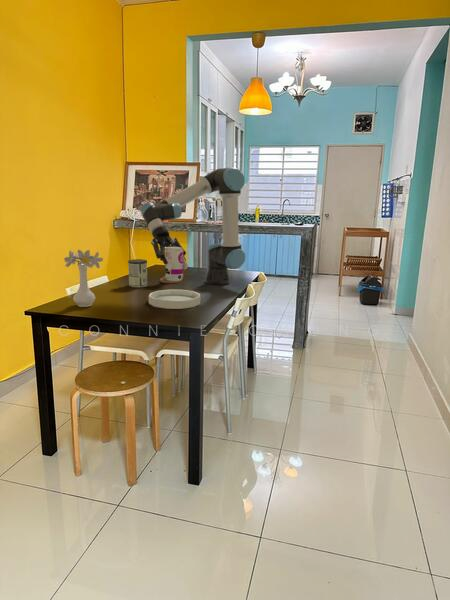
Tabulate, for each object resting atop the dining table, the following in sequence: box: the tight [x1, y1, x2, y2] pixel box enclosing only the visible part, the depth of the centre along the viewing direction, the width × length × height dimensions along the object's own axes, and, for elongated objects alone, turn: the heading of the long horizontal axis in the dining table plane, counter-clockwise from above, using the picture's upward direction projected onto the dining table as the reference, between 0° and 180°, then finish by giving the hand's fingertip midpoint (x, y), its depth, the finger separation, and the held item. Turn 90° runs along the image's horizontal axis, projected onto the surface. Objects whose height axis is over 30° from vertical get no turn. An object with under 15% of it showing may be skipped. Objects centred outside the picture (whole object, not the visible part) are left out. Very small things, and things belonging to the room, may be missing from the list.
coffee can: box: [127, 258, 148, 288], centre depth 228 cm, size 10×10×14 cm
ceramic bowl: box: [148, 289, 201, 310], centre depth 195 cm, size 24×24×4 cm
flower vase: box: [63, 249, 104, 308], centre depth 182 cm, size 13×18×25 cm
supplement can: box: [164, 247, 184, 281], centre depth 191 cm, size 8×8×15 cm
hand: (178, 268), depth 189 cm, fingers closed on supplement can, 8 cm apart
